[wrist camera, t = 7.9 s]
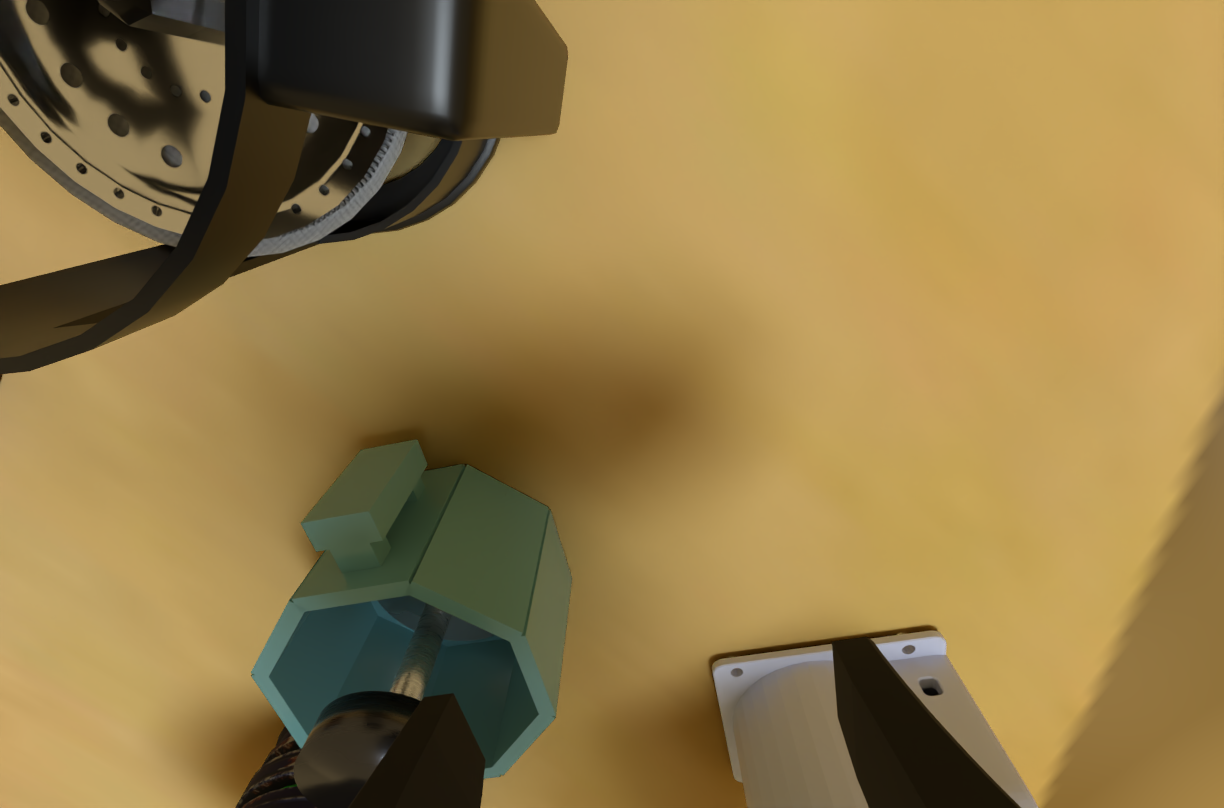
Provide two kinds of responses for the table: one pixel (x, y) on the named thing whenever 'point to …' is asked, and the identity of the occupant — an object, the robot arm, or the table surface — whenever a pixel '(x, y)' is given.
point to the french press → (249, 135)
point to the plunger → (375, 710)
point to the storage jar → (276, 779)
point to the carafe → (426, 598)
